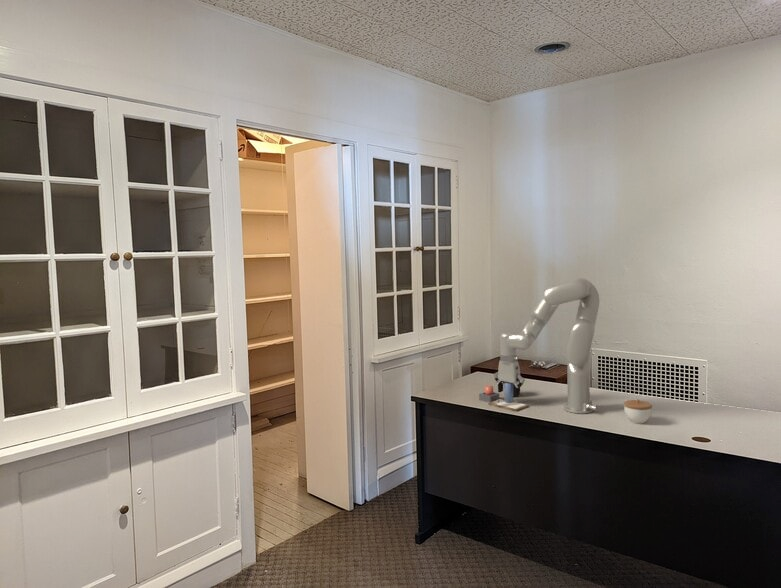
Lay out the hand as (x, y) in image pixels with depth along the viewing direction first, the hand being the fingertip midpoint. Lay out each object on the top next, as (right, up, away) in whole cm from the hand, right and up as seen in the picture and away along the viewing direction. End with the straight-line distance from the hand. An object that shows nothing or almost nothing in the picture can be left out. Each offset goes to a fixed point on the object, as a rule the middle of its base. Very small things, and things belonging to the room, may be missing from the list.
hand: (508, 393), depth 258 cm
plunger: (-8, -3, +9) cm, 12 cm away
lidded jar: (+48, -6, -30) cm, 57 cm away
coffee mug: (+5, -4, +16) cm, 17 cm away
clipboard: (-1, -5, -2) cm, 6 cm away
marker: (0, -4, 0) cm, 4 cm away
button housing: (-8, -5, +9) cm, 13 cm away
